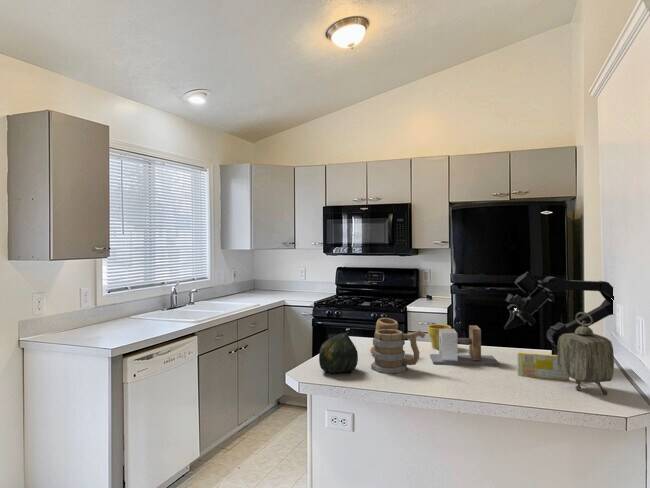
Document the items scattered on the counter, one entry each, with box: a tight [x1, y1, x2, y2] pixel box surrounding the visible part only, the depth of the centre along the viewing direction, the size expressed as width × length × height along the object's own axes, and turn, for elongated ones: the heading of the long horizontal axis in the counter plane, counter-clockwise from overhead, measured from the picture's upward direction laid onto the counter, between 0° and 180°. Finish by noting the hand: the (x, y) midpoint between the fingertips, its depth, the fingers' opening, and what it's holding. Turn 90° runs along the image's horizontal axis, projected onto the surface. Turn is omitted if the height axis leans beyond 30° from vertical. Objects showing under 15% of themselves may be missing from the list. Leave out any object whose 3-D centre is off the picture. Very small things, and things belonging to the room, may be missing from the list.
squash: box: [318, 332, 359, 374], centre depth 167 cm, size 14×15×15 cm
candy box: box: [517, 351, 570, 382], centre depth 157 cm, size 16×2×8 cm, turn 65°
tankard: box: [370, 329, 426, 374], centre depth 169 cm, size 20×13×15 cm, turn 70°
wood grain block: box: [457, 325, 482, 361], centre depth 180 cm, size 13×8×12 cm, turn 82°
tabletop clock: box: [557, 311, 615, 396], centre depth 143 cm, size 14×9×25 cm, turn 12°
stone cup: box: [369, 317, 399, 354], centre depth 194 cm, size 15×12×15 cm
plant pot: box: [427, 324, 452, 350], centre depth 202 cm, size 10×10×10 cm
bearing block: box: [438, 328, 459, 361], centre depth 180 cm, size 6×9×11 cm, turn 172°
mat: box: [429, 353, 501, 367], centre depth 180 cm, size 25×12×1 cm, turn 82°
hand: (505, 329), depth 177 cm, fingers closed
